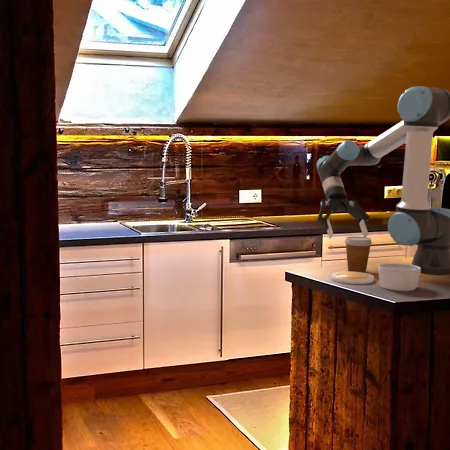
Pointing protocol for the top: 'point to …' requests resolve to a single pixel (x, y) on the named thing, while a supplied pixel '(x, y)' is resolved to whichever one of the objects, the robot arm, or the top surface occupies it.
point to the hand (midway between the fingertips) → (348, 236)
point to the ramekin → (399, 276)
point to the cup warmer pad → (352, 277)
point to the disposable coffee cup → (357, 253)
